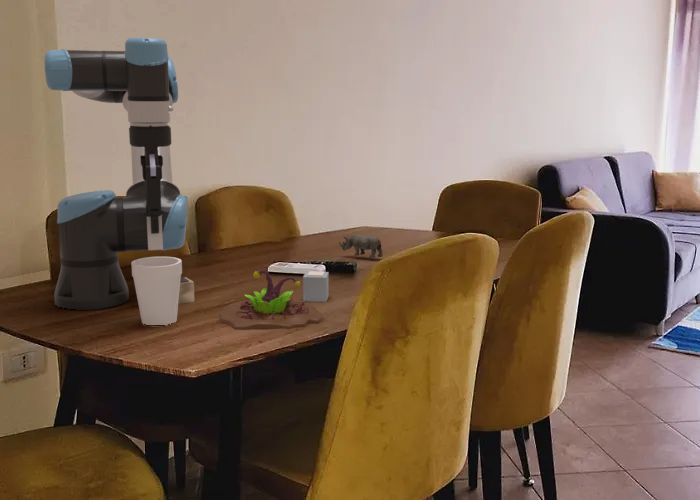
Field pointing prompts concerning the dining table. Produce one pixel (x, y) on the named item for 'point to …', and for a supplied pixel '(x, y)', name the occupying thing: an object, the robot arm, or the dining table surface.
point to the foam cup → (157, 288)
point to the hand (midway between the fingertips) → (155, 249)
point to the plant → (270, 309)
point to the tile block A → (186, 291)
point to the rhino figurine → (363, 244)
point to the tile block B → (315, 286)
